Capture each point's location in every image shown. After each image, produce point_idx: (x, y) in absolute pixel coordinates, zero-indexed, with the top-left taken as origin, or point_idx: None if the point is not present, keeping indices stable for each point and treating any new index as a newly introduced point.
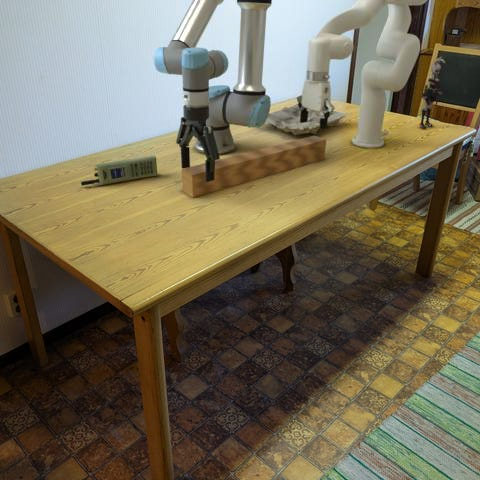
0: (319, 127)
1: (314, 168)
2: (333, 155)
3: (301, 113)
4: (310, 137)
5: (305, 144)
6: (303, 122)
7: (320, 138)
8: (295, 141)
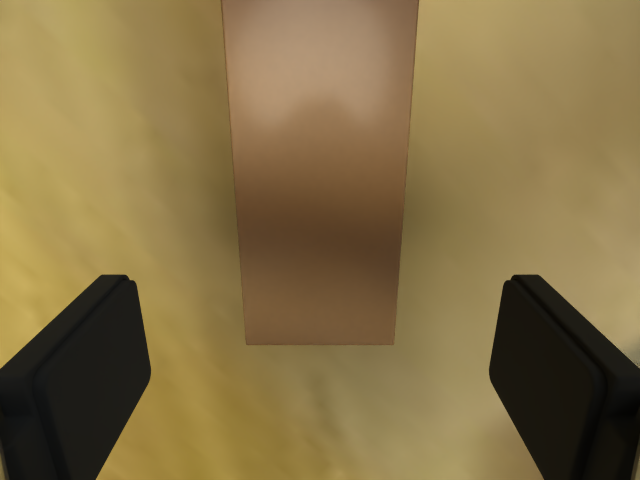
0: (123, 286)
1: (161, 84)
2: (282, 351)
3: (600, 357)
4: (375, 280)
5: (241, 83)
6: (504, 315)
7: (299, 330)
8: (383, 64)
